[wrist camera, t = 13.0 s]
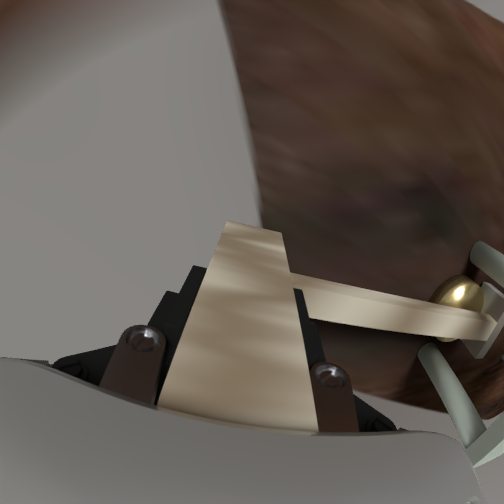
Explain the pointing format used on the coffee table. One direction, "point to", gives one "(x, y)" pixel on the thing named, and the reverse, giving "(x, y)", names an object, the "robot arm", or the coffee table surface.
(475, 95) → the coffee table surface
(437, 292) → the token
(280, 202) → the coffee table surface
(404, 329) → the hoe
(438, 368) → the stand
